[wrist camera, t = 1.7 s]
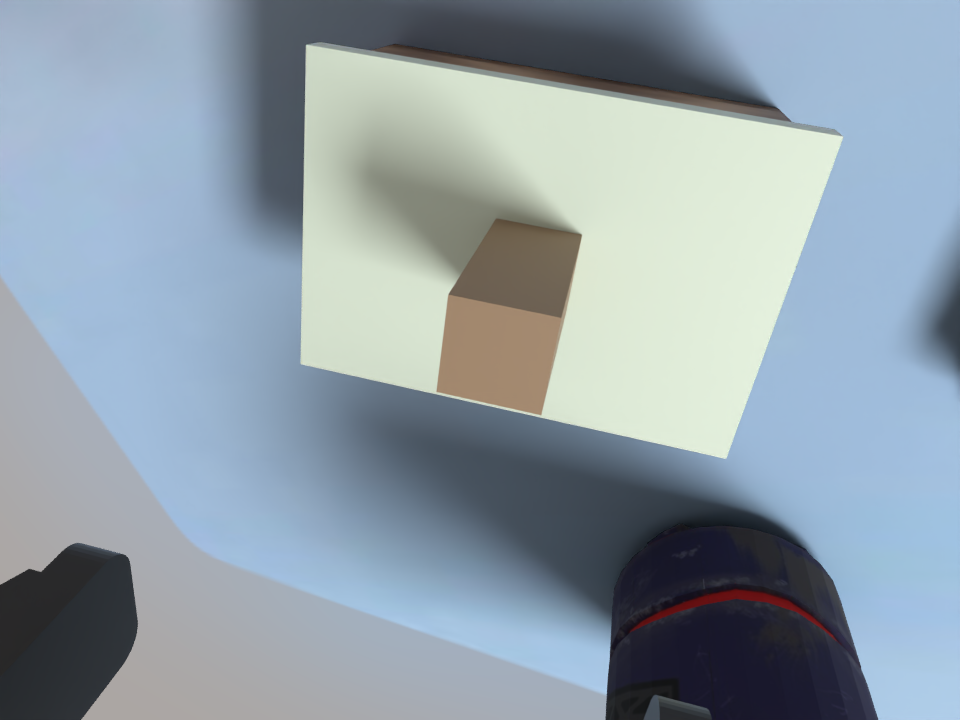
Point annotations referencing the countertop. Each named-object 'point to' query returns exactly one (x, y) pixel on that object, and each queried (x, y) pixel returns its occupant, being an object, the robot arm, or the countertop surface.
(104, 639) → the robot arm
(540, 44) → the countertop surface
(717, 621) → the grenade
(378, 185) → the lid
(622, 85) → the egg box
